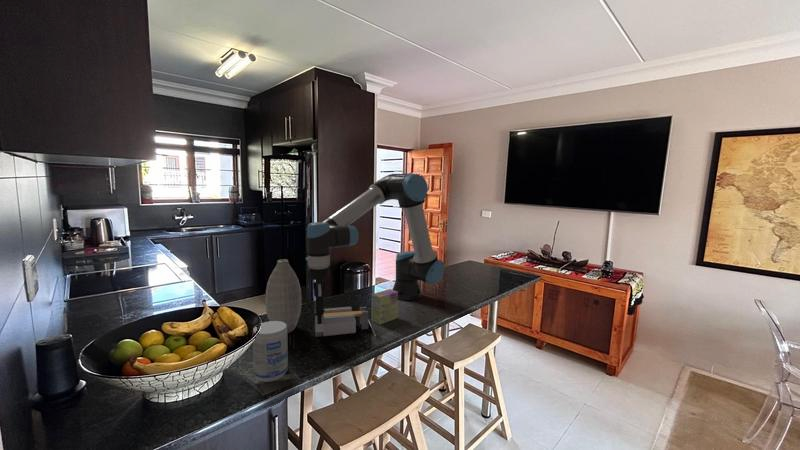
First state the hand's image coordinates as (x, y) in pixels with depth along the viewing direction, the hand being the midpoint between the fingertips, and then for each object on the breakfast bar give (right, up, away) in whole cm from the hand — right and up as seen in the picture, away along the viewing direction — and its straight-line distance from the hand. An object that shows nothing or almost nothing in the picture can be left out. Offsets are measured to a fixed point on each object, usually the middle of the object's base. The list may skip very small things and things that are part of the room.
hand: (319, 331), depth 117 cm
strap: (+6, +2, +9) cm, 11 cm away
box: (+22, -2, +22) cm, 31 cm away
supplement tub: (-10, -7, -19) cm, 23 cm away
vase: (-15, -3, +8) cm, 18 cm away
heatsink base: (+6, -3, +10) cm, 12 cm away
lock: (-2, -2, +6) cm, 6 cm away
